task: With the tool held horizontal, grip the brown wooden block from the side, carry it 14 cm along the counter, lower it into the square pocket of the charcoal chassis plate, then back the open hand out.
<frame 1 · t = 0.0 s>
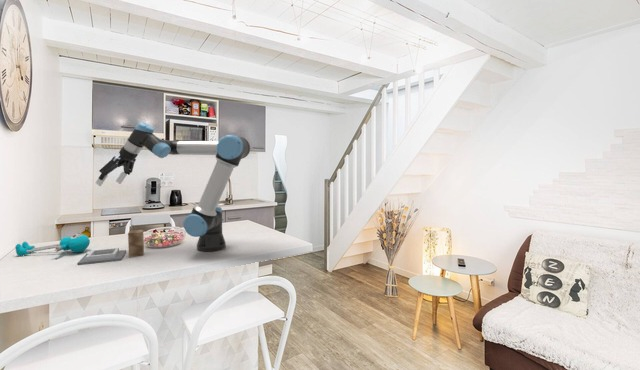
hand: (108, 183, 156), 36 cm above the table, tool tilted 35°, fingers open, 13 cm apart
brown wooden block: (136, 254, 155), on the table
toy: (55, 254, 156), on the table
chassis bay: (103, 257, 149), on the table
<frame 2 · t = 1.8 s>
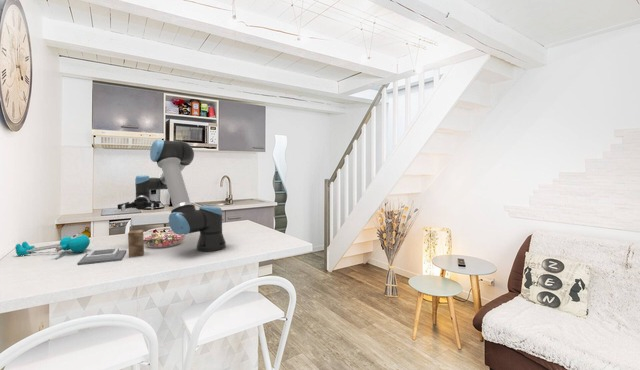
hand: (137, 208, 163), 22 cm above the table, tool horizontal, fingers open, 13 cm apart
nothing on the table moved.
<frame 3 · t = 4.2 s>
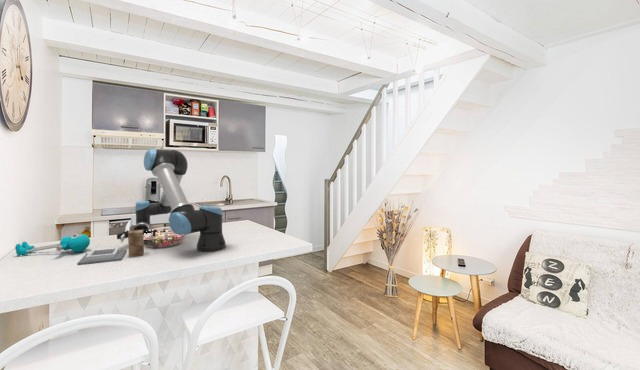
hand: (136, 238, 160), 7 cm above the table, tool horizontal, fingers open, 13 cm apart
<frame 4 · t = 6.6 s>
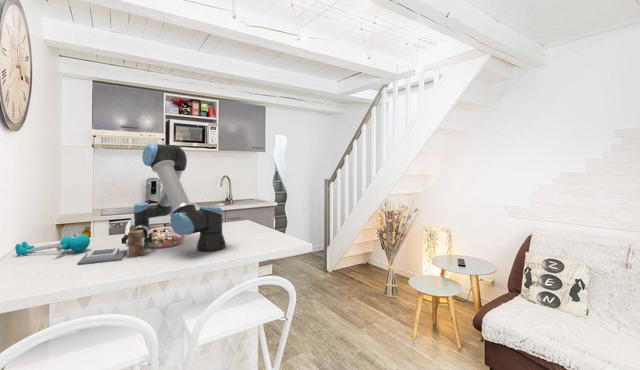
hand: (134, 243, 150), 7 cm above the table, tool horizontal, fingers closed on brown wooden block, 6 cm apart
brown wooden block: (136, 254, 155), on the table, touching gripper
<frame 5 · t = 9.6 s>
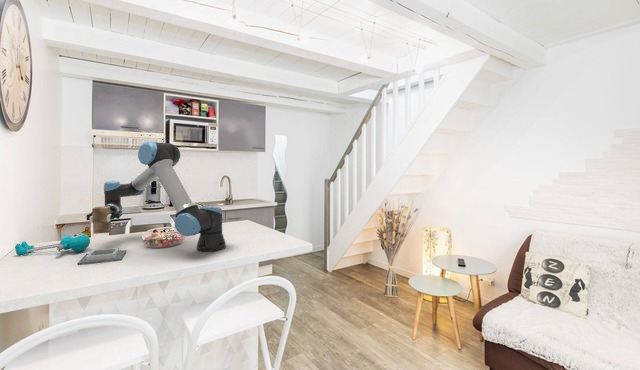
hand: (99, 219, 143), 20 cm above the table, tool horizontal, fingers closed on brown wooden block, 6 cm apart
brown wooden block: (102, 231, 148), point 13 cm above the table, touching gripper
when the fingers open (9 cm above the table, at t = 12.5 s): brown wooden block stays where it is, resting on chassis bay.
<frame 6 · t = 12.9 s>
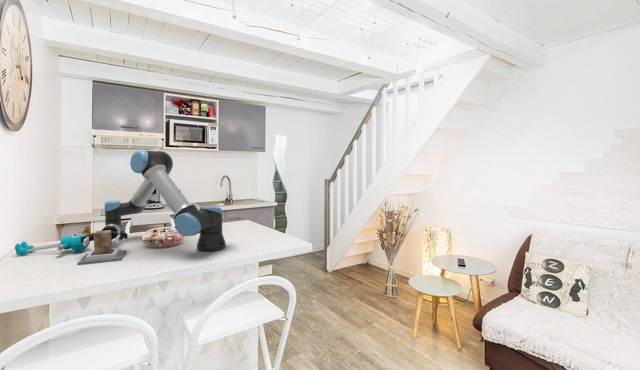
hand: (101, 241, 145), 9 cm above the table, tool horizontal, fingers open, 12 cm apart
brown wooden block: (103, 255, 149), point 1 cm above the table, touching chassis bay
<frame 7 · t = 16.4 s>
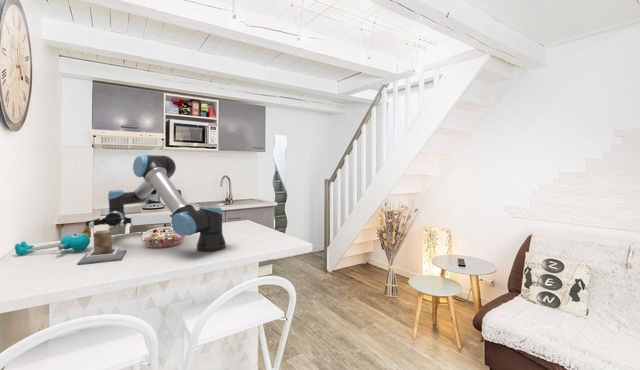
hand: (106, 225, 157), 14 cm above the table, tool horizontal, fingers open, 13 cm apart
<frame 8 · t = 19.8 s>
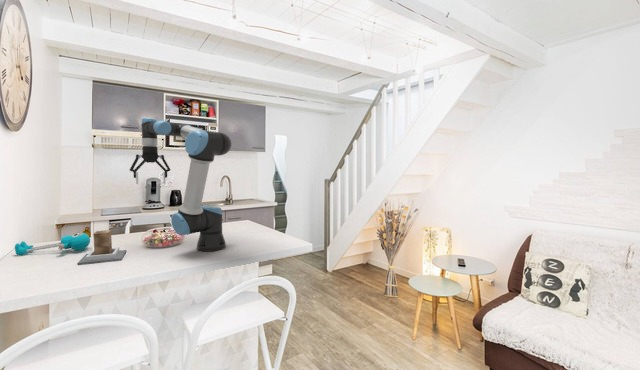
hand: (151, 183, 173), 35 cm above the table, tool pointing down, fingers open, 13 cm apart
at the end: brown wooden block 0.1 cm off-centre on the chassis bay, point 1.0 cm above the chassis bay's base; brown wooden block tilted 0°; the gripper is holding nothing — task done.
